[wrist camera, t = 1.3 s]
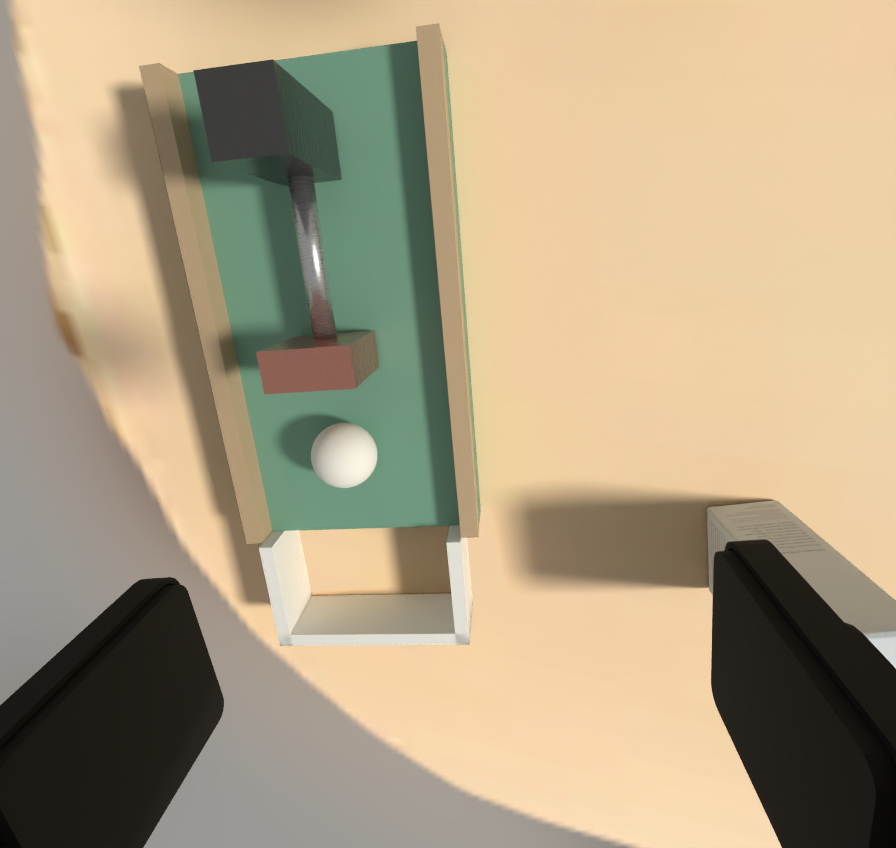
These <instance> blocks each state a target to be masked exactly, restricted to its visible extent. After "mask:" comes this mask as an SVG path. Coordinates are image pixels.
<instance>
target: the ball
mask: <svg viewBox="0 0 896 848" xmlns="http://www.w3.org/2000/svg"><path fill="white" fill-rule="evenodd" d="M311 462H312V466H313V468H314V470H315V472H316V474H317V475H318V476H319V478H320V479H321V480H323V481H324V482H325V483H327V484H329V485H331V486H334V487H338V488H350V487H354V486H357V485H359V484H361V483H362V482H364V481H365V480H366V479H367V478H368V477H369V476H370V475H371V474H372V472H373V470H374V468H375V466H376V463H377V447H376V444H375V442H374V440H373V438H372V436H371V435H370V434H369V433H368V432H367V431H366V430H365V429H363V428H362V427H360V426H358V425H356V424H352V423H337V424H334V425H331V426H329V427H327V428H326V429H324V430H323V431H322V432H321V433H320V434H319V435H318V436H317V438H316V439H315V441H314V443H313V446H312V450H311Z"/></svg>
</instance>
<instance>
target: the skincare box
mask: <svg viewBox="0 0 896 848" xmlns="http://www.w3.org/2000/svg"><path fill="white" fill-rule="evenodd" d="M707 529H708V566H709V590H710V592H711V593H712V595H713V566H714V555H715V553H716V552H717V551H724V550H725V546H726V543H728V542H729V541H744V540H760V539H766V540H769V541H770V542H771V543H772V544H773V545H774V546H775V547H776V548H777V549H778V550H779V552H780V553H781V554H782V555H783V556H784V557H785V558H786V559H787V560H788V561H789V562H790V564H791V565H792V566H793V567H794V568H795V569H796V570H797V571H798V572H799V573H800V574H801V576H802V577H803V578H804V579H805V580H806V581H807V582H808V583H809V584H810V585H811V586H812V588H813V589H814V590H815V591H816V592H817V593H818V594H819V595H820V596H821V597H822V599H823V600H824V601H825V602H826V603H827V604H828V605H829V606H830V607H831V608H832V609H833V611H834V612H835V613H836V614H837V615H838V616H839V617H840V618H841V619H842V620H843V621H844V623H848V624H851V625H853V626H855V627H856V628H857V629H858V630H859V631H861V632H862V633H863V634H864V635H865V636H866V637H867V638H868V639H869V640H870V642H871V643H872V644H873V645H874V646H875V647H876V648H877V649H878V650H879V651H880V652H881V653H882V654H883V655H884V656H885V658H886V659H887V660H888V661H889V662H890V663H891V664H892V665H893V666H894V667H895V668H896V600H895V599H893V598H892V597H891V596H890V595H889V594H887V593H886V592H885V591H884V590H883V589H882V588H880V587H879V586H878V585H877V584H876V583H874V582H873V581H872V580H871V579H870V578H869V577H867V576H866V575H865V574H864V573H863V572H861V571H860V570H859V569H858V568H857V567H855V566H854V565H853V564H852V563H851V562H850V561H848V560H847V559H846V558H845V557H844V556H843V555H841V554H840V553H839V552H838V551H837V550H835V549H834V548H833V547H832V546H831V545H830V544H828V543H827V542H826V541H825V540H824V539H822V538H821V537H820V536H819V535H818V534H816V533H815V532H814V531H813V530H812V529H811V528H809V527H808V526H807V525H806V524H805V523H803V522H802V521H801V520H800V519H799V518H798V517H796V516H795V515H794V514H793V513H792V512H790V511H789V510H788V509H787V508H786V507H784V506H783V505H782V504H781V503H780V502H778V501H775V500H771V501H762V502H753V503H744V504H735V505H724V506H714V507H708V508H707Z"/></svg>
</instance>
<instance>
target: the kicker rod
mask: <svg viewBox="0 0 896 848" xmlns="http://www.w3.org/2000/svg"><path fill="white" fill-rule="evenodd" d="M194 76H195V81H196V86H197V91H198V96H199V101H200V106H201V111H202V116H203V121H204V126H205V131H206V136H207V141H208V146H209V151H210V156H211V161H212V163H215V164H218V165H221V166H224V167H228V168H231V169H234V170H237V171H240V172H243V173H246V174H249V175H252V176H255V177H258V178H261V179H264V180H267V181H270V182H273V183H276V184H279V185H282V186H289V192H290V198H291V204H292V210H293V217H294V223H295V229H296V235H297V241H298V248H299V254H300V260H301V266H302V272H303V279H304V285H305V291H306V297H307V303H308V310H309V316H310V322H311V328H312V334H313V335H306V336H296V337H293V338H290V339H288V340H285V341H283V342H280V343H278V344H275V345H273V346H270V347H268V348H265V349H262V350H260V351H257V352H256V355H257V360H258V365H259V370H260V375H261V380H262V386H263V391H264V394H280V393H296V392H311V391H327V390H343V389H356V388H357V387H358V386H359V385H360V384H361V383H362V382H364V381H365V380H366V379H367V378H368V377H369V376H370V375H371V374H372V373H373V372H374V371H375V370H377V369H378V368H379V360H378V352H377V344H376V337H375V330H372V331H359V332H346V333H336V326H335V319H334V312H333V306H332V299H331V292H330V285H329V278H328V272H327V265H326V258H325V251H324V245H323V238H322V231H321V224H320V217H319V211H318V204H317V197H316V190H315V184H314V183H316V182H325V181H334V180H342V177H341V170H340V162H339V155H338V147H337V140H336V132H335V125H334V117H333V111H332V110H330V109H329V108H328V107H327V106H326V105H325V104H324V103H322V102H321V101H320V100H319V99H318V98H317V97H315V96H314V95H313V94H312V93H311V92H310V91H309V90H307V89H306V88H305V87H304V86H303V85H302V84H301V83H299V82H298V81H297V80H296V79H295V78H294V77H293V76H291V75H290V74H289V73H288V72H287V71H286V70H284V69H283V68H282V67H281V66H280V65H279V64H278V63H276V62H275V61H274V60H266V61H259V62H252V63H245V64H237V65H230V66H223V67H216V68H209V69H201V70H194Z"/></svg>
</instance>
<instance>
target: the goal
mask: <svg viewBox="0 0 896 848" xmlns="http://www.w3.org/2000/svg"><path fill="white" fill-rule="evenodd" d="M446 545H447V555H448V565H449V575H450V586H451V593H447V594H387V595H328V596H312V595H311V590H310V585H309V579H308V574H307V569H306V563H305V558H304V553H303V548H302V542H301V537H300V532H299V530H293V531H272V532H271V534H270V535H269V536H268V537H267V539H266V540H265V541H264V542H263V543H262V545H261V546H260V547H259V552H260V556H261V561H262V565H263V570H264V574H265V579H266V584H267V588H268V593H269V597H270V602H271V607H272V611H273V616H274V620H275V625H276V630H277V634H278V639H279V643H280V646H310V645H469V643H470V630H471V617H472V604H473V602H472V590H471V579H470V567H469V555H468V543H467V538H461V533H460V525H451V526H449V531H448V536H447V542H446Z"/></svg>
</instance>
